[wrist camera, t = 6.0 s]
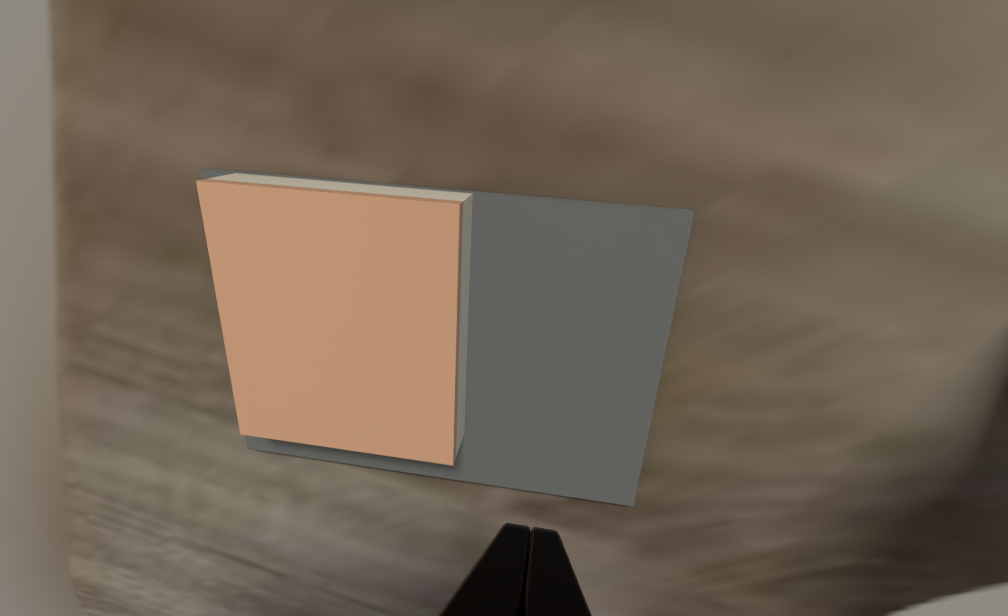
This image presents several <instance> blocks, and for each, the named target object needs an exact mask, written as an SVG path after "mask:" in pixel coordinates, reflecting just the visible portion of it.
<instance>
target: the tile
mask: <svg viewBox="0 0 1008 616" xmlns="http://www.w3.org/2000/svg"><path fill="white" fill-rule="evenodd" d="M196 183H197V188H198V194H199V200H200V206H201V211H202V217H203V223H204V229H205V234H206V240H207V246H208V251H209V257H210V263H211V269H212V274H213V280H214V286H215V292H216V297H217V303H218V309H219V314H220V320H221V326H222V332H223V337H224V343H225V349H226V355H227V360H228V366H229V372H230V377H231V383H232V389H233V395H234V400H235V406H236V412H237V418H238V423H239V429H240V434H242V435H248V436H255V437H262V438H269V439H276V440H282V441H289V442H296V443H303V444H310V445H316V446H323V447H330V448H337V449H344V450H350V451H357V452H364V453H371V454H378V455H384V456H391V457H398V458H405V459H412V460H418V461H425V462H432V463H439V464H446V465H453V464H454V461H455V459H456V456H457V453H458V450H459V447H460V445H461V442H462V439H463V436H464V427H465V398H466V370H467V341H468V313H469V284H470V256H471V227H472V199H473V194H472V193H461V192H449V191H437V190H426V189H414V188H402V187H391V186H379V185H367V184H356V183H344V182H333V181H321V180H309V179H298V178H286V177H274V176H263V175H251V174H239V173H234V174H228V175H223V176H218V177H213V178H208V179H203V180H198V181H196Z"/></svg>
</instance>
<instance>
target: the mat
mask: <svg viewBox="0 0 1008 616" xmlns="http://www.w3.org/2000/svg"><path fill="white" fill-rule="evenodd" d="M234 173H239V174H251V175H263V176H274V177H286V178H298V179H309V180H321V181H333V182H344V183H356V184H367V185H379V186H391V187H402V188H414V189H426V190H437V191H449V192H461V193H472V194H473V199H472V227H471V256H470V284H469V313H468V341H467V370H466V398H465V427H464V436H463V439H462V442H461V445H460V447H459V450H458V453H457V456H456V459H455V461H454V464H453V465H446V464H439V463H432V462H425V461H418V460H412V459H405V458H398V457H391V456H384V455H378V454H371V453H364V452H357V451H350V450H344V449H337V448H330V447H323V446H316V445H310V444H303V443H296V442H289V441H282V440H276V439H269V438H262V437H255V436H248V435H246V441H247V447H248V449H253V450H260V451H267V452H273V453H280V454H287V455H293V456H300V457H307V458H313V459H320V460H327V461H333V462H340V463H347V464H353V465H360V466H367V467H373V468H380V469H387V470H393V471H400V472H407V473H413V474H420V475H427V476H433V477H440V478H447V479H453V480H460V481H467V482H473V483H480V484H487V485H493V486H500V487H507V488H513V489H520V490H527V491H533V492H540V493H547V494H553V495H560V496H567V497H573V498H580V499H587V500H593V501H600V502H607V503H613V504H620V505H627V506H634V502H635V497H636V492H637V487H638V482H639V478H640V473H641V468H642V463H643V458H644V453H645V449H646V444H647V439H648V434H649V429H650V425H651V420H652V415H653V410H654V405H655V400H656V396H657V391H658V386H659V381H660V376H661V372H662V367H663V362H664V357H665V352H666V348H667V343H668V338H669V333H670V328H671V323H672V319H673V314H674V309H675V304H676V299H677V295H678V290H679V285H680V280H681V275H682V271H683V266H684V261H685V256H686V251H687V246H688V242H689V237H690V232H691V227H692V222H693V218H694V212H693V211H692V210H690V209H678V208H666V207H655V206H643V205H631V204H619V203H608V202H596V201H584V200H573V199H561V198H549V197H537V196H526V195H514V194H502V193H491V192H479V191H467V190H455V189H444V188H432V187H420V186H408V185H397V184H385V183H373V182H362V181H350V180H338V179H326V178H315V177H303V176H291V175H280V174H268V173H256V172H244V171H233V170H221V169H204V170H201V176H202V180H203V179H208V178H213V177H218V176H223V175H228V174H234Z"/></svg>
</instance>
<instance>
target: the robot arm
mask: <svg viewBox="0 0 1008 616" xmlns="http://www.w3.org/2000/svg"><path fill="white" fill-rule="evenodd" d="M529 540H530V542H529ZM528 549H529V551H528ZM527 559H528V560H527ZM521 613H522V614H521ZM438 616H591V613H590V611H589V608H588V606H587V603H586V601H585V598H584V596H583V593H582V591H581V588H580V586H579V583H578V581H577V578H576V576H575V573H574V571H573V568H572V566H571V563H570V561H569V558H568V556H567V553H566V551H565V548H564V546H563V543H562V541H561V538H560V536H559V534H558V532H556V531H555V530H550V529H544V528H537V527H534V528H532V530H531V533H530V528H529V527H528V526H524V525H518V524H512V523H506V524H504V525H503V526H502V527H501V529H500V530H499V532H498V533H497V534H496V536H495V537H494V538H493V540H492V541H491V543H490V544H489V545H488V547H487V548H486V550H485V551H484V552H483V554H482V555H481V557H480V558H479V559H478V561H477V562H476V564H475V565H474V566H473V568H472V569H471V571H470V572H469V573H468V575H467V576H466V578H465V579H464V580H463V582H462V583H461V585H460V586H459V587H458V589H457V590H456V592H455V593H454V594H453V596H452V597H451V598H450V600H449V601H448V603H447V604H446V605H445V607H444V608H443V610H442V611H441V612H440V614H439V615H438Z"/></svg>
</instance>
